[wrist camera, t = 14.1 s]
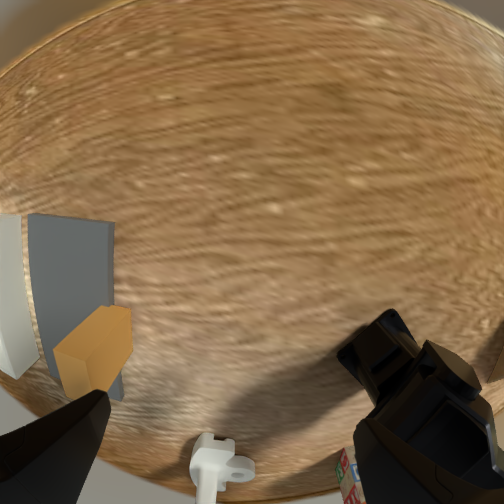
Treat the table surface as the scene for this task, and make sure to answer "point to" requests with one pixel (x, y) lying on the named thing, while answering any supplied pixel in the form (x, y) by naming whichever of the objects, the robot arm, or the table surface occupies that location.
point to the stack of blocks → (349, 477)
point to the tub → (14, 302)
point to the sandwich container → (498, 369)
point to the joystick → (217, 467)
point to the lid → (78, 303)
